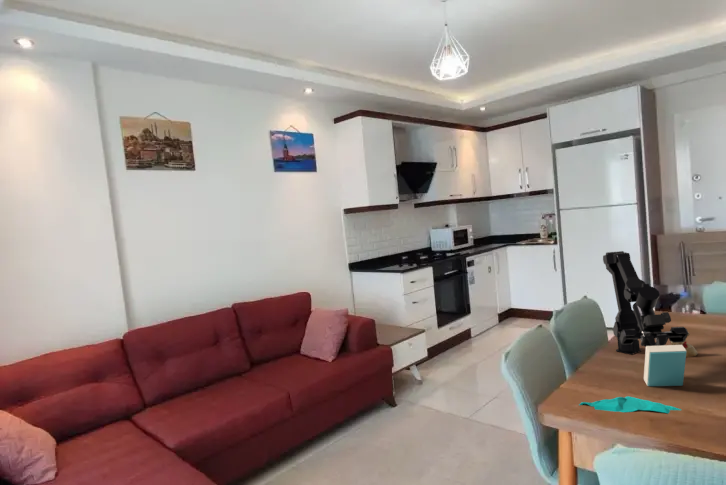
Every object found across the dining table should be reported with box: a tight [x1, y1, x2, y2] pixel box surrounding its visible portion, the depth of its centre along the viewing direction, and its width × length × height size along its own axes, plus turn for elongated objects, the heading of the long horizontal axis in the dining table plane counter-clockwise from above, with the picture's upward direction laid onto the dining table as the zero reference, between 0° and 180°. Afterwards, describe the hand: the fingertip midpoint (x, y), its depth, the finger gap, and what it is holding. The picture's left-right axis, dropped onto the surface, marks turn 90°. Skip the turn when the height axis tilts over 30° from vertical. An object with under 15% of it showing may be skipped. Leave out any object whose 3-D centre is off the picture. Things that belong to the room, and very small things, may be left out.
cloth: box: [578, 395, 682, 414], centre depth 135 cm, size 26×14×2 cm, turn 56°
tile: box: [643, 344, 687, 387], centre depth 144 cm, size 4×10×13 cm, turn 77°
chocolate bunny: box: [670, 331, 698, 358], centre depth 169 cm, size 6×8×10 cm
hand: (661, 359), depth 146 cm, fingers closed
